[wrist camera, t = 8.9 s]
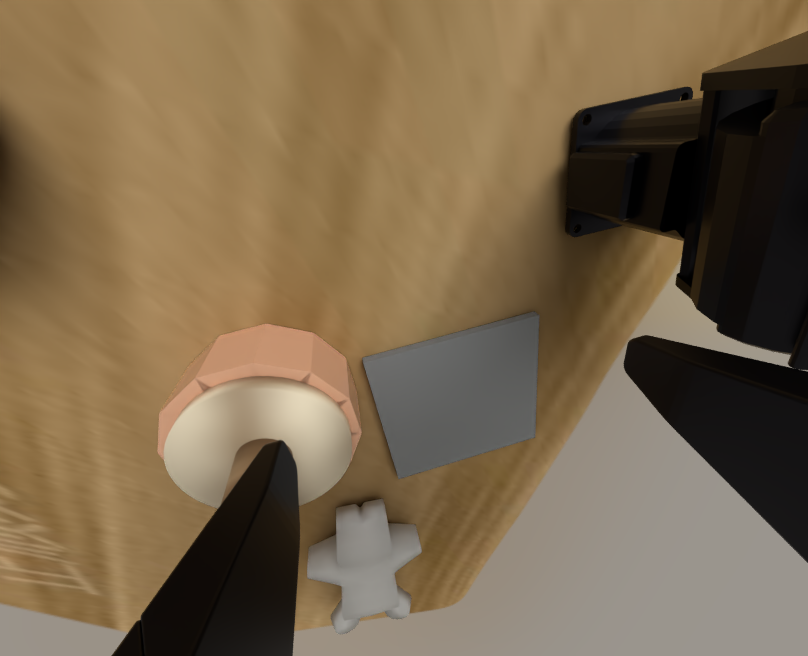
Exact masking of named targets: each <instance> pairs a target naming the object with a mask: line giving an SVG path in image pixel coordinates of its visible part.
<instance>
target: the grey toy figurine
mask: <svg viewBox="0 0 808 656" xmlns="http://www.w3.org/2000/svg"><path fill="white" fill-rule="evenodd" d="M421 552H422V550H421V545H420V541H419V537H418V533H417V529H416V525H415V524H396V523H388V520H387V514H386V508H385V504H384V502H383V499H378V500H372V501H367V502H364V503H363V505H362V506H361V507H358V506H357V505H356V504H352V505H347V506H342V507H337V508H336V535H334V536H331V537H329V538H327V539H325V540H323V541H321V542H318V543H316V544H314V545H312V546H310V547H309V552H308V566H307V576H308V579H313V580H318V581H322V582H327V583H332V584H336V585H339V586H342V599H341V601H340V602H339V604H338V605H337V607H336V608H335V610H334V611H333V612H332V614H331V621H332V624H333V626H334V629H335V631H336V633H338V634H345V633H348V632H350V631H351V630H353V629H354V628H355V627H356V626H357V625H358V623H359V620H360V618H362V617H367V616H372V615H375V614H378V613H381V612H385V613H386V614H387V616H389V617H390V618H392V619H402V618H405V617H407V616H408V614H409V612H410V605H411V599H412V598H411V595H410V594H409V593H407V592H406V591H404V590H403V589H402V588H400V587H399V586H397V585H396V579H395V572H396V571H398V570H399V569H400V568H401V567H403V566H404V565H405V564H407V563H408V562H409V561H411V560H412V559H413V558H415V557H416V556H417V555H419V554H420V553H421Z"/></svg>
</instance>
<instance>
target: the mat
mask: <svg viewBox="0 0 808 656" xmlns="http://www.w3.org/2000/svg"><path fill="white" fill-rule="evenodd" d="M538 339H539V315H538V314H537V313H536V312H535V311H534V312H530V313H526V314H523V315H519V316H515V317H512V318H508V319H504V320H501V321H497V322H493V323H489V324H486V325H482V326H478V327H475V328H471V329H467V330H464V331H460V332H456V333H452V334H449V335H445V336H441V337H438V338H434V339H430V340H427V341H423V342H419V343H416V344H412V345H408V346H404V347H401V348H397V349H393V350H390V351H386V352H382V353H379V354H375V355H371V356H367V357H364V358H362V359H363V364H364V367H365V370H366V374H367V377H368V380H369V384H370V387H371V390H372V393H373V397H374V400H375V403H376V407H377V410H378V413H379V416H380V420H381V423H382V426H383V429H384V433H385V436H386V439H387V443H388V446H389V449H390V452H391V456H392V459H393V462H394V465H395V469H396V472H397V475H398V479H401V478H404V477H407V476H411V475H414V474H417V473H420V472H424V471H427V470H430V469H433V468H437V467H440V466H443V465H447V464H450V463H453V462H456V461H460V460H463V459H466V458H469V457H473V456H476V455H479V454H482V453H486V452H489V451H492V450H495V449H499V448H502V447H505V446H509V445H512V444H515V443H518V442H522V441H525V440H528V439H531V438H535V426H536V397H537V368H538Z"/></svg>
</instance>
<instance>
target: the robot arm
mask: <svg viewBox="0 0 808 656" xmlns="http://www.w3.org/2000/svg"><path fill="white" fill-rule="evenodd" d="M700 91H704V92H703V98H699V99H692V97H693V91H692V88H690V87H682V88H677V89H672V90H668V91H663V92H658V93H654V94H649V95H645V96H640V97H635V98H631V99H626V100H621V101H617V102H612V103H607V104H603V105H598V106H594V107H589V108H584V109H581V110H579V111H578V112H577V113H576V115H575V117H574V119H573V128H572V142H571V156H570V160H569V173H568V187H567V202H566V205H567V213H566V227H565V230H566V233H567V234H568V235H570V236H572V237H578V236H582V235H586V234H590V233H594V232H598V231H602V230H606V229H610V228H614V227H618V226H622V225H624V226H628V227H632V228H636V229H639V230H643V231H647V232H651V233H655V234H658V235H662V236H666V237H670V238H674V239H677V240H681V241H684V244H683V251H682V259H681V266H680V273H678V274H677V277H676V286H677V287H678V288H679V289H680V290H682V291H683V292H684V293H685V294H686V295H687V296H689V297H690V298H691V299H692V301H693V303H694V305H695V307H696V309H697V310H699V311H700V312H701V313H703V314H704V315H705V316H707V317H708V318H709V319H711V320H712V321H713V322H715V323H717V331H718V332H720V333H721V334H723V335H725V336H727V337H730V338H732V339H734V340H737V341H740V342H742V343H744V344H747V345H751V346H755V347H758V348H762V349H765V350H769V351H773V352H778V353H783V354H789V355H791V356H790V359H789V361H788V365H789V366H790V367H792V368H789V367H785V366H780V365H775V364H772V363H767V362H763V361H759V360H754V359H750V358H745V357H741V356H737V355H732V354H728V353H723V352H718V351H715V350H710V349H705V348H701V347H697V346H692V345H688V344H684V343H679V342H675V341H670V340H666V339H662V338H657V337H653V336H648V335H645V336H641V337H637V338H634V339H631V340H630V341H629V342H628V345H627V350H626V355H625V360H624V369H625V371H626V373H627V374H628V376H629V377H630V378H631V379H632V380H633V382H634V383H635V384H636V385H637V386H638V388H639V389H640V390H641V391H642V392H643V394H644V395H645V396H646V397H647V399H648V400H649V401H650V402H651V403H652V405H653V406H654V407H655V408H656V409H657V410H658V412H659V413H660V414H661V415H662V416H663V418H664V419H665V420H666V421H667V422H668V423H669V424H670V425H671V426H672V427H673V428H674V429H675V430H676V431H677V432H678V433H679V434H680V435H681V436H682V437H683V438H684V439H685V440H686V441H687V442H688V443H689V444H690V445H691V446H692V447H693V448H694V449H695V450H696V451H697V452H698V453H699V454H700V455H701V456H702V457H703V458H704V459H705V460H706V461H707V462H708V463H709V464H710V465H711V466H712V467H713V468H714V469H715V470H716V471H717V472H718V473H719V474H720V475H721V476H722V477H723V478H724V479H725V480H726V481H727V482H728V483H729V484H730V485H731V486H732V487H733V488H734V489H735V490H736V491H737V492H738V493H739V494H740V495H741V496H742V497H743V498H744V499H745V500H746V501H747V502H748V503H749V504H750V505H751V506H752V508H754V510H755V511H756V512H758V513H759V515H761V517H762V518H763V519H765V521H766V522H767V523H768V524H769V525H771V527H772V528H773V529H775V531H776V532H777V533H779V535H780V536H781V537H782V538H784V540H785V541H786V542H787V543H788V544H790V546H791V547H793V549H794V550H796V552H798V554H799V555H800V556H801V557H802V558H803V559H804V560H805V561H806V562H807V563H808V372H807V371H802V370H808V31H807V32H804V33H802V34H799V35H797V36H794V37H792V38H789V39H787V40H784V41H782V42H779V43H776V44H774V45H771V46H769V47H766V48H764V49H761V50H759V51H756V52H754V53H751V54H749V55H746V56H744V57H741V58H739V59H736V60H733V61H731V62H728V63H726V64H723V65H721V66H718V67H716V68H713V69H711V70H708V71H706V72H703V73H702V80H701V88H700ZM680 97H681V101H680ZM584 116H586V122H585V124H584V125H583V122H582V120H583V117H584ZM576 225H577V228H576V229H575V230H573V229H574V227H575V226H576ZM794 368H795V369H794ZM798 369H800V370H798ZM299 548H300V519H299V497H298V474H297V466H296V462H295V460H294V458H293V456H292V454H291V453H290V451H289V449H288V447H287V445H286V443H285V442H284V441H283V440H277V441H274V442H270V443H267V444H265V445H264V446H263V447H262V448H261V450H260V451H259V452H258V454H257V455H256V456H255V458H254V459H253V461H252V462H251V463H250V465H249V466H248V468H247V469H246V470H245V472H244V473H243V474H242V476H241V477H240V479H239V480H238V481H237V483H236V484H235V486H234V487H233V488H232V490H231V491H230V493H229V494H228V495H227V497H226V498H225V499H224V501H223V502H222V504H221V505H220V506H219V508H218V509H217V511H216V512H215V513H214V515H213V516H212V517H211V519H210V520H209V522H208V523H207V524H206V526H205V527H204V529H203V530H202V531H201V533H200V534H199V536H198V537H197V538H196V540H195V541H194V542H193V544H192V545H191V547H190V548H189V549H188V551H187V552H186V554H185V555H184V556H183V558H182V559H181V561H180V562H179V563H178V565H177V566H176V567H175V569H174V570H173V572H172V573H171V574H170V576H169V577H168V579H167V580H166V581H165V583H164V584H163V585H162V587H161V588H160V590H159V591H158V592H157V594H156V595H155V597H154V598H153V599H152V601H151V602H150V604H149V605H148V606H147V608H146V609H145V610H144V612H143V613H142V615H141V620H138V621H137V622H136V623H135V624H134V625H133V627H132V628H131V630H130V631H129V632H128V634H127V635H126V637H125V638H124V640H123V641H122V642H121V644H120V645H119V646H118V648H117V649H116V651H115V652H114V653H113V655H112V656H292V655H293V640H294V625H295V610H296V594H297V579H298V563H299Z"/></svg>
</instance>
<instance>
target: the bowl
mask: <svg viewBox="0 0 808 656" xmlns="http://www.w3.org/2000/svg"><path fill="white" fill-rule="evenodd" d="M252 376H275V377H284V378H289V379H294V380H298V381H301V382H304V383H307V384H309V385H312V386H314V387H316V388H318V389H320V390H321V391H323V392H325V393H326V394H328V395H329V396H330V397H331V398H333V399H334V400H335V401H336V402H337V403H338V404H339V405H340V407H341V408H342V409H343V411H344V412H345V414H346V416H347V418H348V421H349V424H350V428H351V439H352V457H351V460H352V458H353V455H354V452H355V450H356V447H357V444H358V442H359V439H360V436H361V434H362V430H361V422H360V414H359V406H358V398H357V390H356V387H355V384H354V381H353V378H352V375H351V372H350V369H349V366H348V363H347V360H346V357H344V356H343V355H342V354H340V353H339V352H338V351H336V350H335V349H334V348H333V347H331V346H330V345H329V344H327V343H326V342H325V341H324V340H322V339H321V338H320V337H318V336H317V335H316V334H315V333H312V332H307V331H302V330H297V329H291V328H286V327H281V326H276V325H271V324H263V325H259V326H255V327H251V328H247V329H243V330H239V331H236V332H232V333H228V334H224V335H220V336H218V337H217V338H216V339H215V340H214V341H213V342H212V343H211V344H210V345H209V346H208V347H207V348H206V349H205V350H204V351H203V352H202V353H201V354H200V355H199V356H198V357H197V358H196V359H195V360H194V361H193V362H192V363H191V364H190V365H189V366H188V368H187V370H186V371H185V373H184V374H183V376H182V378H181V379H180V381H179V382H178V384H177V385H176V387H175V389H174V390H173V392H172V393H171V395H170V397H169V398H168V400H167V401H166V403H165V405H164V406H163V408H162V409H161V411H160V412H159V432H158V454H159V455H160V456H161V457H162V458H163V460H164V446H165V442H166V439H167V436H168V434H169V432H170V430H171V428H172V427H173V425H174V423H175V421H176V419H177V418H178V416H179V414H180V413H181V411H182V410H183V409H184V407H185V406H186V405H187V404H188V403H189V402H190V401H191V400H193V399H194V398H195V397H196V396H197V395H199V394H201V393H202V392H204V391H205V390H207V389H209V388H211V387H213V386H216V385H218V384H221V383H224V382H227V381H230V380H234V379H239V378H244V377H252ZM351 460H350V463H351ZM349 465H350V464H349Z"/></svg>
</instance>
